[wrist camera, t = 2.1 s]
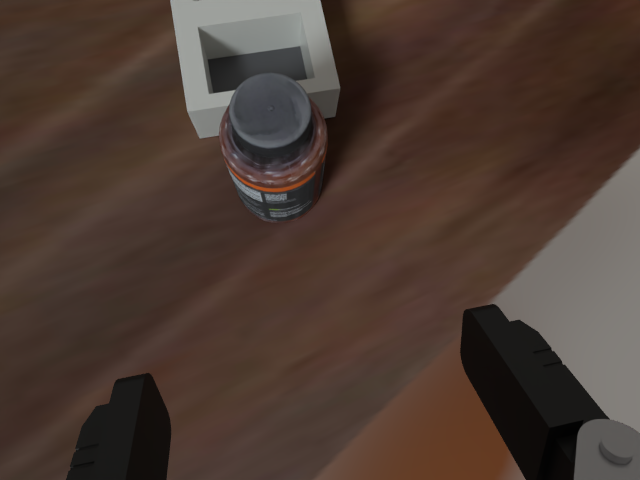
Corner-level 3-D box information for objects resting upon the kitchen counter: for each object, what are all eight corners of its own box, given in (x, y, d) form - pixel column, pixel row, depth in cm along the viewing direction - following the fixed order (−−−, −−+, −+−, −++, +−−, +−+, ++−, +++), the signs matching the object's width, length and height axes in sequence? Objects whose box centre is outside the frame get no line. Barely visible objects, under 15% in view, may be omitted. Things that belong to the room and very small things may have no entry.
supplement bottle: (293, 132, 34) (293, 32, 23) (337, 198, 34) (358, 127, 23) (221, 171, 34) (185, 87, 22) (264, 241, 33) (249, 189, 22)
